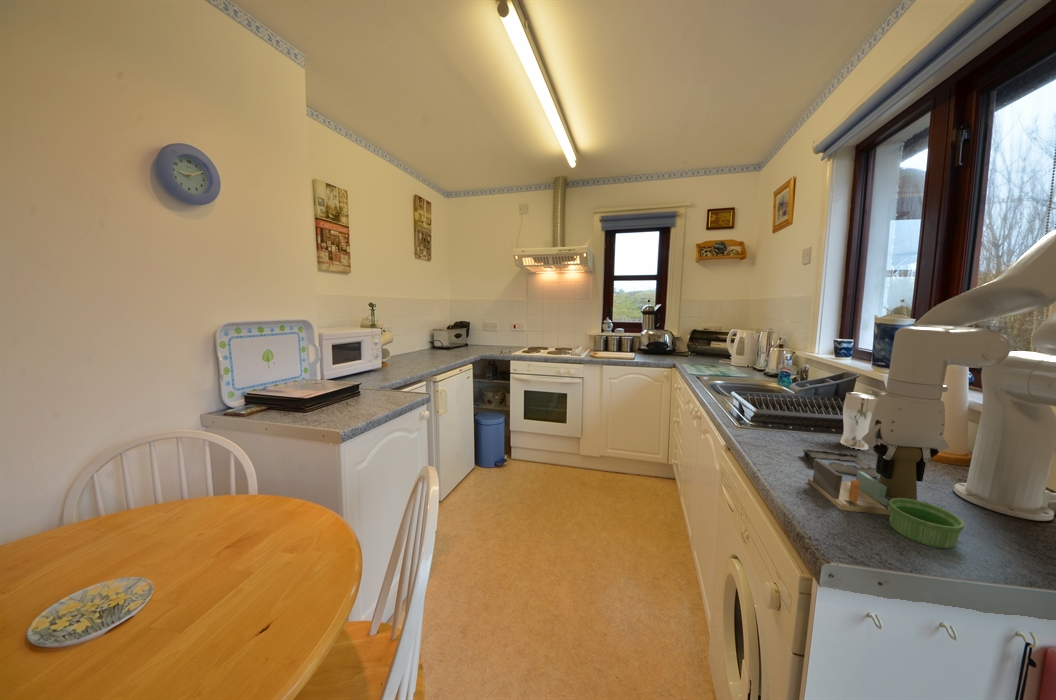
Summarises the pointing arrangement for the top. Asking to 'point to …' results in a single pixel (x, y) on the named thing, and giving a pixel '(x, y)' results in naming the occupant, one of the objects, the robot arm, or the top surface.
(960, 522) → the ramekin
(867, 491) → the pad
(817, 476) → the stand
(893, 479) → the cork
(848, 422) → the beer glass
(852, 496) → the ball-ended orange rod
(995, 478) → the robot arm
